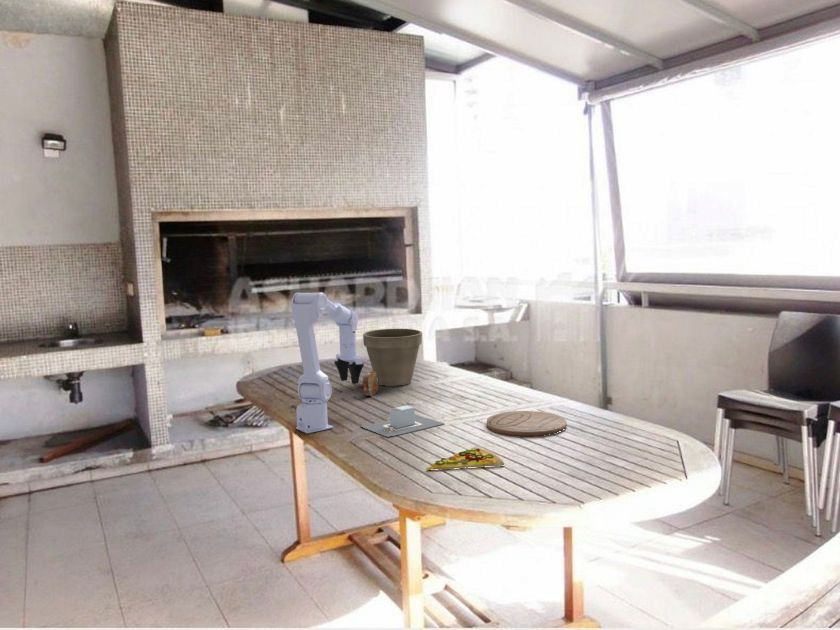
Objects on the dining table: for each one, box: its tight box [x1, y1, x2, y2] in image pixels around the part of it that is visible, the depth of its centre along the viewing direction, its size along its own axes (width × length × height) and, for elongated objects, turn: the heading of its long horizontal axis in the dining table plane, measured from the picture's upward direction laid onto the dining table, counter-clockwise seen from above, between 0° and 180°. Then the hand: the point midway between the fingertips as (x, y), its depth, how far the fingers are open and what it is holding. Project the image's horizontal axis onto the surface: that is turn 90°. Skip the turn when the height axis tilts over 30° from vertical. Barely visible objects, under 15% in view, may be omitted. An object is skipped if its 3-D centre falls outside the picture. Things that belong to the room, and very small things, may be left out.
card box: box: [389, 404, 416, 428], centre depth 216 cm, size 4×7×6 cm, turn 127°
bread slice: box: [362, 370, 380, 397], centre depth 264 cm, size 15×3×8 cm, turn 168°
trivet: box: [486, 410, 568, 438], centre depth 212 cm, size 25×25×2 cm
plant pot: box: [362, 328, 423, 387], centre depth 282 cm, size 25×25×22 cm
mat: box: [360, 413, 445, 438], centre depth 217 cm, size 22×16×1 cm
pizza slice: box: [425, 446, 505, 471], centre depth 178 cm, size 16×21×3 cm
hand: (349, 382), depth 237 cm, fingers open, 7 cm apart
